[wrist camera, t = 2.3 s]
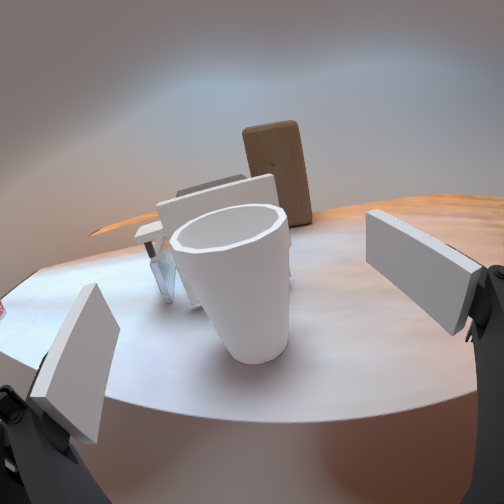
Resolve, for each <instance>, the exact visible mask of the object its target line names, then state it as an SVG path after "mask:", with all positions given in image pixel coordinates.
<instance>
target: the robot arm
mask: <svg viewBox="0 0 504 504" xmlns="http://www.w3.org/2000/svg"><path fill="white" fill-rule="evenodd" d="M366 262H367V263H369V264H370V265H371V266H372V267H374V268H375V269H376V270H377V271H379V272H380V273H381V274H382V275H383V276H385V277H386V278H387V279H388V280H389V281H391V282H392V283H393V284H394V285H395V286H397V287H398V288H399V289H400V290H401V291H402V292H404V293H405V294H406V295H407V296H408V297H409V298H411V299H412V300H413V301H414V302H415V303H416V304H417V305H419V306H420V307H421V308H422V309H423V310H424V311H425V312H426V313H428V314H429V315H430V316H431V317H432V318H433V319H434V320H435V321H436V322H437V323H439V324H440V325H441V326H442V327H443V328H444V329H445V330H446V331H447V332H448V333H449V334H450V335H451V336H453V335H455V334H456V333H458V332H459V331H460V330H462V329H463V328H464V326H465V323H466V321H467V318H468V315H469V316H470V317H471V318H472V319H473V320H472V323H471V326H470V328H469V331H468V334H467V336H466V340H465V342H468V340H469V337H470V335H472V340H471V342H473V345H474V353H475V362H476V374H477V392H478V424H477V442H476V453H475V461H474V468H473V474H472V480H471V485H470V488H469V490H468V492H467V493H466V495H465V496H464V497H463V499H462V501H461V503H460V504H504V266H501V265H492V266H490V267H489V269H487V268H486V267H484V266H483V265H481V264H479V263H478V262H476V261H475V260H473V259H471V258H470V257H468V256H466V255H463V253H461V252H460V251H457V250H456V249H455V248H453V247H451V246H449V245H447V244H444V243H442V242H441V241H439V240H437V239H435V238H433V237H432V236H430V235H428V234H426V233H424V232H422V231H420V230H419V229H417V228H415V227H413V226H411V225H409V224H407V223H405V222H403V221H401V220H399V219H397V218H395V217H393V216H391V215H389V214H387V213H385V212H383V211H381V210H379V209H376V210H372V211H367V212H366ZM119 331H120V327H119V326H118V324H117V322H116V320H115V318H114V316H113V315H112V313H111V311H110V309H109V307H108V305H107V303H106V301H105V299H104V297H103V295H102V293H101V291H100V289H99V287H98V285H97V283H94V284H90V285H87V286H84V287H83V288H82V290H81V292H80V293H79V295H78V297H77V298H76V300H75V302H74V304H73V305H72V307H71V309H70V311H69V313H68V315H67V316H66V318H65V320H64V322H63V324H62V326H61V328H60V330H59V332H58V334H57V336H56V338H55V340H54V342H53V344H52V346H51V348H50V350H49V351H48V352H47V354H46V355H45V356H44V357H43V359H42V362H41V364H40V366H39V369H38V371H37V373H36V376H35V378H34V380H33V382H32V385H31V387H30V390H29V393H28V395H27V398H26V401H24V400H23V399H22V398H21V397H20V396H19V395H18V394H17V393H16V392H15V391H14V389H13V388H12V387H11V386H9V385H3V386H1V387H0V419H1V420H2V421H0V504H112V503H111V502H110V500H109V499H108V498H107V496H106V495H105V494H104V492H103V491H102V489H101V488H100V487H99V485H98V484H97V483H96V481H95V480H94V478H93V477H92V475H91V473H90V472H89V470H88V469H87V467H86V466H85V464H84V462H83V461H82V459H81V457H80V456H79V454H78V452H77V451H76V449H75V447H74V446H73V445H72V444H71V443H70V442H69V439H70V435H71V436H72V437H73V438H74V439H76V440H77V441H78V442H79V443H85V444H96V443H97V436H98V429H99V423H100V416H101V410H102V405H103V400H104V395H105V390H106V385H107V380H108V376H109V371H110V367H111V362H112V358H113V354H114V350H115V346H116V343H117V339H118V335H119ZM5 460H6V461H8V462H9V463H10V464H12V465H13V466H14V467H15V472H13V471H11V470H10V469H9V468H7V467H6V466H5Z"/></svg>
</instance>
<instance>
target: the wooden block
mask: <svg viewBox="0 0 504 504" xmlns="http://www.w3.org/2000/svg"><path fill="white" fill-rule="evenodd" d="M242 136H243V141H244V145H245V150H246V154H247V159H248V164H249V169H250V173H251V178H252V177H256V176H261V175H265V174H272V175H274V179H275V185H276V190H277V196H278V201H279V207H280V208H283V210H284V212H285V214H286V216H287V220H288V226H289V227H290V226H296V225H302V224H308V223H310V222H311V221H312V211H311V203H310V196H309V189H308V182H307V175H306V169H305V163H304V157H303V150H302V144H301V139H300V133H299V128H298V124H297V122H296V121H293V120H289V121H282V122H275V123H270V124H264V125H258V126H253V127H248V128H245V129H244V130H243V132H242Z"/></svg>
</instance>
